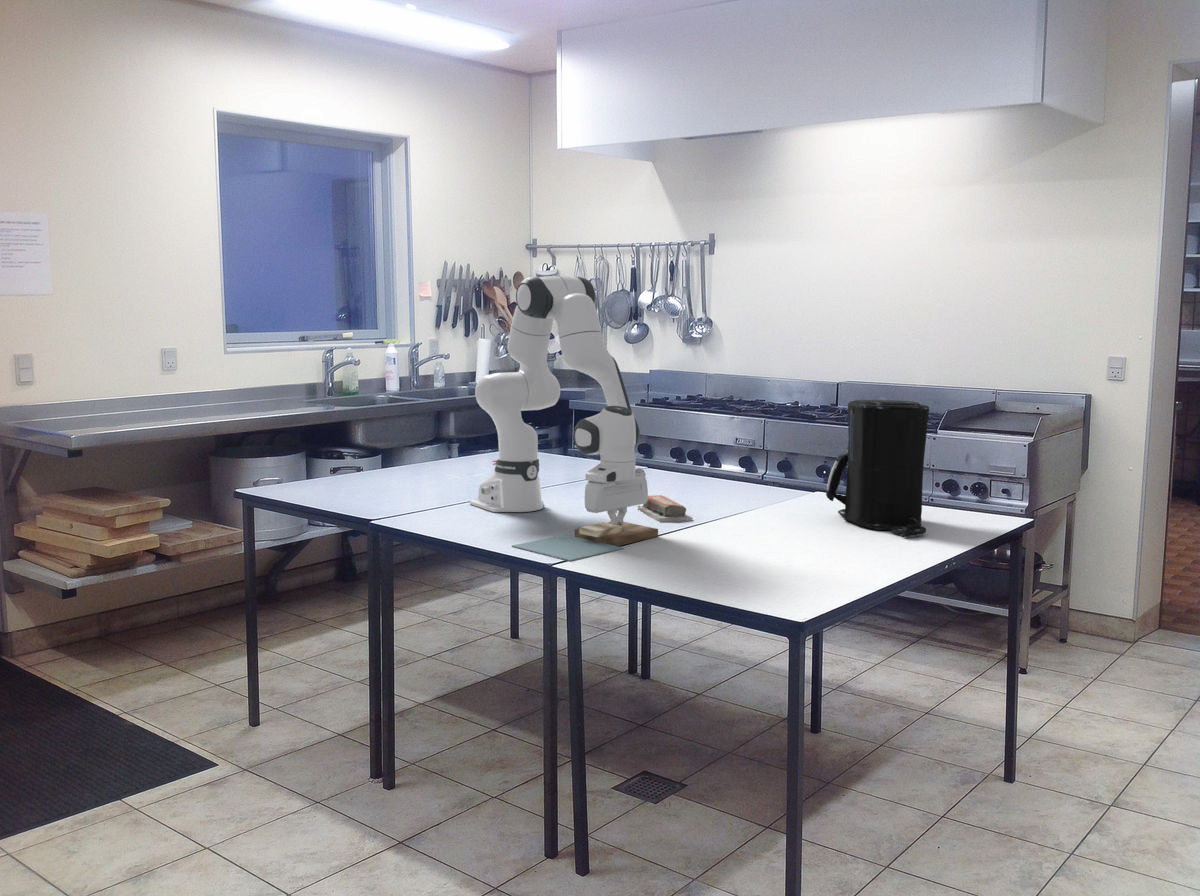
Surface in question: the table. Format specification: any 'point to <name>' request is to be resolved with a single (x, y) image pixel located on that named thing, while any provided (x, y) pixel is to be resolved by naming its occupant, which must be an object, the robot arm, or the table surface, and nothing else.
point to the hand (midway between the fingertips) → (616, 525)
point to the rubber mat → (567, 547)
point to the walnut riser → (623, 535)
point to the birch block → (600, 529)
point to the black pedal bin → (883, 466)
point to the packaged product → (664, 509)
